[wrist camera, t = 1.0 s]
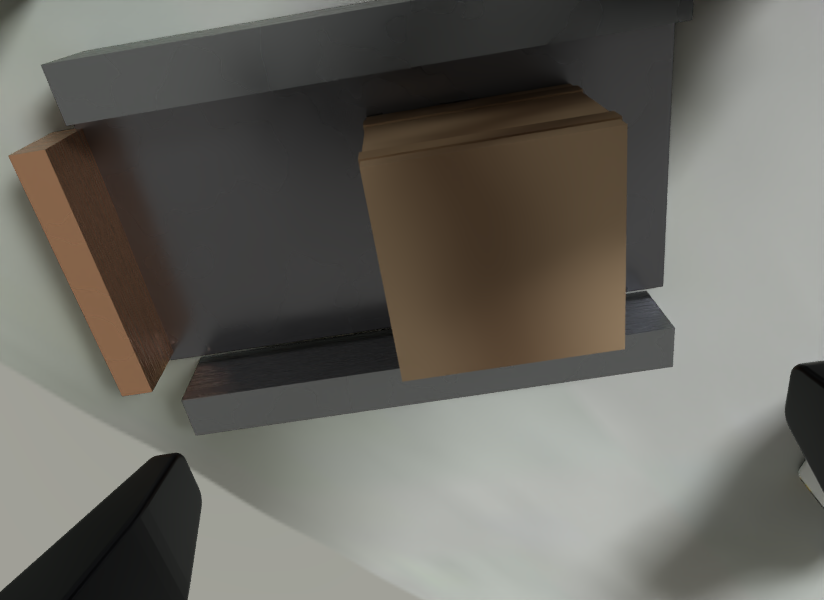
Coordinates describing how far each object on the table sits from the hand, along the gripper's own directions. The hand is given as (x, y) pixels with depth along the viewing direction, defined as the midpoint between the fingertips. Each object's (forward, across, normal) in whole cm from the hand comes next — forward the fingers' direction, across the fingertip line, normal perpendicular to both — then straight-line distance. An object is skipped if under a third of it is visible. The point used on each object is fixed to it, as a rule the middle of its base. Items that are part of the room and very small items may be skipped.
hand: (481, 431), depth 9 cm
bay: (+12, +3, -2) cm, 12 cm away
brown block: (+12, -1, +1) cm, 12 cm away
